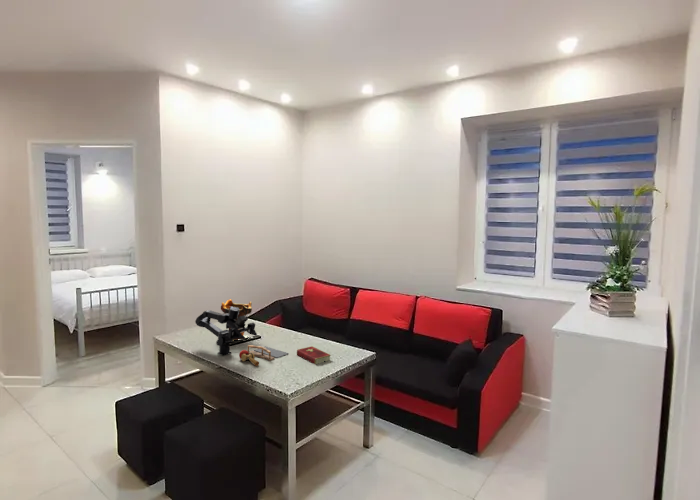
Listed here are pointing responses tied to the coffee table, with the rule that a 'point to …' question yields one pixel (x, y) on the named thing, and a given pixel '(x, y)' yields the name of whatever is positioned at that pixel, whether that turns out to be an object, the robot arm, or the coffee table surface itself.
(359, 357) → the coffee table surface
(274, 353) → the mat
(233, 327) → the robot arm
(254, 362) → the kendama
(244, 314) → the decorative vase
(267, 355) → the tan wooden frame
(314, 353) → the hardcover book
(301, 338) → the coffee table surface
